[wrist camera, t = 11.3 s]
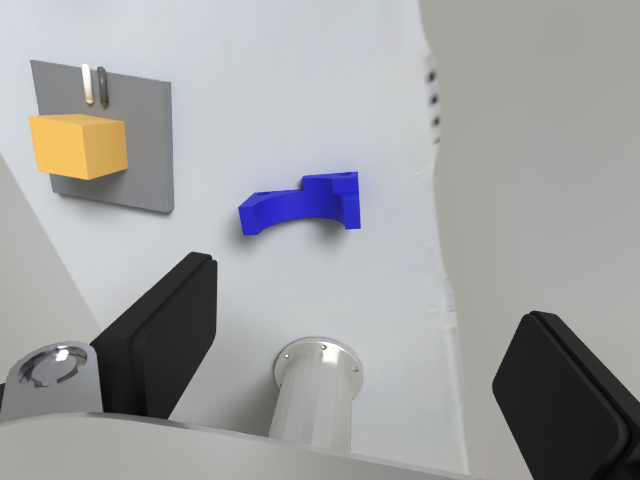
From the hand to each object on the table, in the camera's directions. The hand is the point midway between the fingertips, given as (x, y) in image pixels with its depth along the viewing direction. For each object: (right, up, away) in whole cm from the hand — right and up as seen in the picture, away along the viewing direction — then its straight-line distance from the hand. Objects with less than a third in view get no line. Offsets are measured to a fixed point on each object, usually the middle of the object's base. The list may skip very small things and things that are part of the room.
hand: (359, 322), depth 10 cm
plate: (-25, +14, +28) cm, 40 cm away
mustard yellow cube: (-25, +13, +26) cm, 38 cm away
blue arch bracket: (-3, +8, +28) cm, 29 cm away
